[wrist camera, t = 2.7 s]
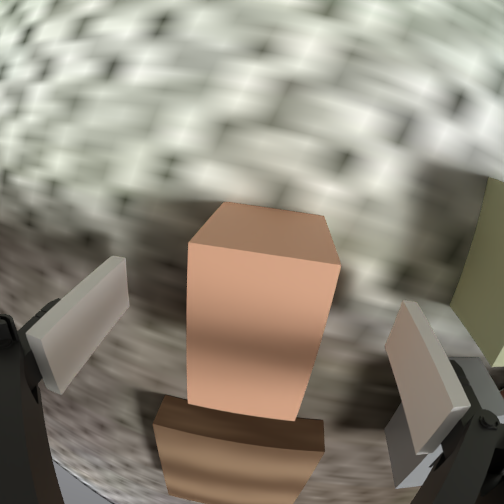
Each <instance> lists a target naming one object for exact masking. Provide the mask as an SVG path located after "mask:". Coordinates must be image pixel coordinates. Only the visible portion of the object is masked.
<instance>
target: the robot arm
mask: <svg viewBox="0 0 504 504" xmlns="http://www.w3.org/2000/svg"><path fill="white" fill-rule="evenodd" d="M128 308H129V296H128V284H127V271H126V258H124V257H119V256H113V255H112V256H111V257H110V258H108V259H107V260H106V261H105V262H104V263H102V264H101V265H100V266H99V267H98V268H96V269H95V270H94V271H93V272H92V273H91V274H89V275H88V276H87V277H86V278H85V279H84V280H83V281H81V282H80V283H79V284H78V285H77V286H76V287H75V288H73V289H72V290H71V291H70V292H69V293H68V294H67V295H66V296H64V297H63V298H62V299H59V298H58V299H56V300H54V301H52V302H50V303H48V304H47V305H46V306H44V307H43V308H42V309H41V311H39V312H38V313H37V314H36V315H35V317H34V316H33V317H32V318H31V319H30V320H29V321H28V322H27V323H26V324H25V325H24V326H23V327H22V328H21V329H20V330H19V331H17V330H16V327H15V324H14V321H13V318H12V317H11V316H10V315H6V314H0V504H64V501H63V497H62V494H61V491H60V487H59V484H58V480H57V477H56V473H55V469H54V465H53V462H52V457H51V452H50V448H49V443H48V438H47V433H46V427H45V421H44V415H43V409H42V402H41V394H40V388H39V386H38V383H39V382H40V380H41V379H43V381H44V383H45V386H46V388H47V389H49V390H51V391H53V392H55V393H57V394H60V395H62V394H63V393H64V391H65V390H66V388H67V387H68V386H69V384H70V383H71V382H72V380H73V379H74V377H75V376H76V375H77V373H78V372H79V371H80V369H81V368H82V367H83V365H84V364H85V363H86V361H87V360H88V359H89V357H90V356H91V355H92V353H93V352H94V351H95V350H96V348H97V347H98V346H99V344H100V343H101V342H102V340H103V339H104V338H105V337H106V335H107V334H108V333H109V331H110V330H111V329H112V328H113V326H114V325H115V324H116V323H117V321H118V320H119V319H120V318H121V316H122V315H123V314H124V313H125V311H126V310H127V309H128ZM385 349H386V352H387V355H388V358H389V361H390V364H391V367H392V370H393V374H394V377H395V380H396V383H397V387H398V390H399V393H400V397H401V400H402V404H403V407H404V411H405V414H406V418H407V422H408V425H409V429H410V433H411V437H412V441H413V445H414V449H415V453H416V455H419V454H429V453H433V452H434V451H435V450H436V449H437V448H438V446H439V445H440V444H441V446H442V450H443V452H442V453H441V454H440V455H439V456H438V457H437V458H436V459H435V461H434V462H433V463H432V464H431V465H430V466H429V467H430V468H431V467H432V466H433V465H434V466H433V467H432V469H431V471H430V473H429V474H428V476H427V478H426V480H425V481H424V483H423V485H422V486H421V488H420V489H419V491H418V493H417V494H416V496H415V497H414V499H413V500H412V502H411V503H410V504H504V424H502V423H500V421H499V419H498V417H497V416H496V415H495V414H494V413H493V412H491V411H489V410H486V409H482V407H481V405H480V403H479V401H478V399H477V397H476V395H475V393H474V391H473V389H472V387H471V385H470V383H469V381H468V379H467V378H466V375H465V373H464V371H463V369H462V367H461V366H460V365H459V364H458V363H457V362H456V361H455V360H449V359H448V357H447V355H446V353H445V351H444V350H443V348H442V346H441V344H440V342H439V340H438V338H437V337H436V335H435V333H434V331H433V329H432V327H431V326H430V324H429V322H428V320H427V319H426V317H425V315H424V313H423V312H422V310H421V308H420V307H419V305H418V303H417V302H414V301H406V300H403V301H402V304H401V307H400V309H399V312H398V315H397V317H396V320H395V322H394V325H393V327H392V330H391V332H390V335H389V337H388V340H387V342H386V344H385Z"/></svg>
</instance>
